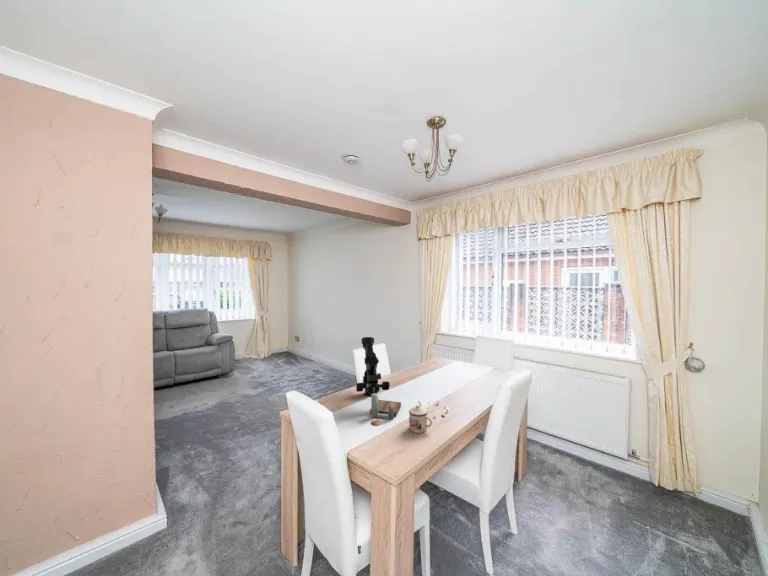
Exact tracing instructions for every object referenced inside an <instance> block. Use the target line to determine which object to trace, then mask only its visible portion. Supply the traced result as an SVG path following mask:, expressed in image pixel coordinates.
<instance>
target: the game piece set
mask: <svg viewBox="0 0 768 576" xmlns="http://www.w3.org/2000/svg"><path fill="white" fill-rule="evenodd" d="M439 402H440V401H439V399H436V404H437V405H439V404H440V403H439ZM418 403H419V404H418ZM430 403H431V401H429V402H427V403H426V404H427V405H430ZM422 404H423V403H422V401H421V400H420V399H419V400H418V402H417V405H420V406H422ZM443 409H445V410H446V411H443V413H442V412H441V413H440V414H441V416H442V417H444V416H446V413H447V414H449V410H450V409H449V407H447V406H446V405H444V406H443ZM435 418H436V419H437V418H438V416H437V414H433V419H435Z"/></svg>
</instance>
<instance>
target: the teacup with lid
mask: <svg viewBox="0 0 768 576" xmlns="http://www.w3.org/2000/svg"><path fill="white" fill-rule="evenodd" d="M408 413H409V414H408V415H409V417H408V423H409V425H408V427H409V430H410V431H411V432H413V433H416V434H423V433H425V432H427V430H428V428H430V427H431V426H432V425H433V420H432V418H431V417H429V416H428V410H427V409H426V408H425V407H422V406H421V405H420V404H418V405H415V406H413V407H410V408H409V409H408ZM428 421H429V424H428Z"/></svg>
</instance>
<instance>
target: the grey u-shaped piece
mask: <svg viewBox="0 0 768 576" xmlns="http://www.w3.org/2000/svg"><path fill="white" fill-rule="evenodd" d="M370 400H371V402H370V404H371V409H370V415H371V414H372V415H371V417H372V418H383V419H384V418H385V419H389V420H393V419H394V418H395V417H394V406H392V405H390V406H389V415H388V414H380V413H378V400H379V394H378V393H377V394H376V393H373V394H371V396H370Z"/></svg>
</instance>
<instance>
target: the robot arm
mask: <svg viewBox="0 0 768 576" xmlns="http://www.w3.org/2000/svg"><path fill="white" fill-rule="evenodd" d="M374 344H375V338H374V337H373V336H363V337H362V338H361V345H362V348H363V350H364V352H365V353H364V354H365V357H364V364H365V371H364V374H363V377H362V382H357V383H356V387H355V388H356V389H355V390H356V392H363V391H364V392H363V396H368V397H371V394H373V393H376V394H378V393H379V392H380V389H382V390H383V391H389V390H390V386H391V384H390V381H388V380H385V381H382V382H381V383H379V380H381V379H382V374H381V373H379V372H378V373H377V369H378V364H379V362H380V361H379V358H378V357H377V355H376V354H377V353H375V352H374V347H373V346H374Z"/></svg>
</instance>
